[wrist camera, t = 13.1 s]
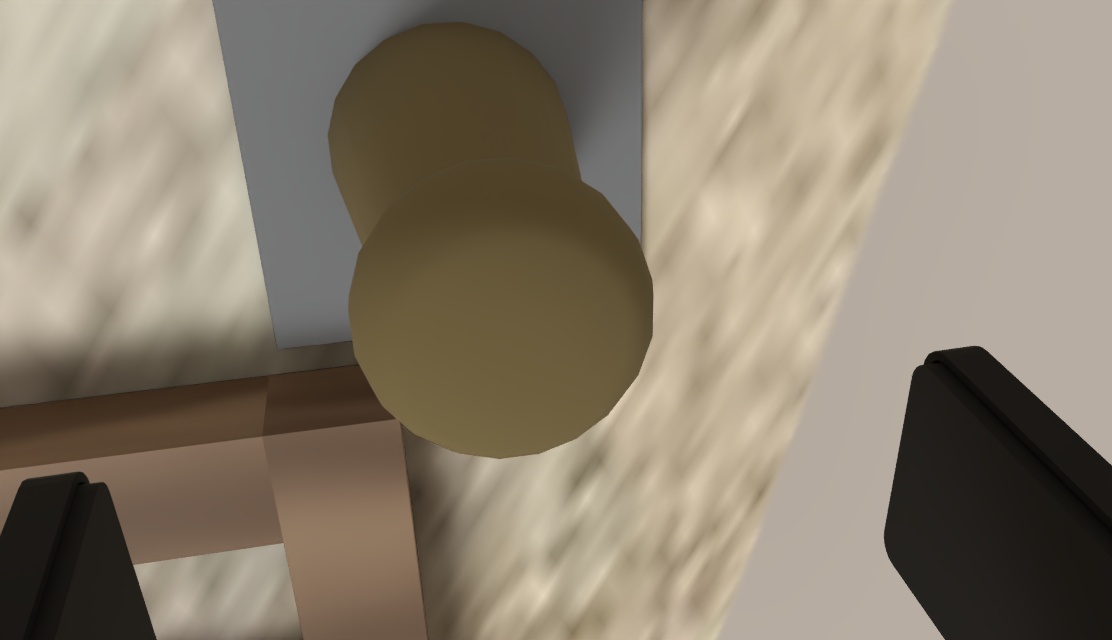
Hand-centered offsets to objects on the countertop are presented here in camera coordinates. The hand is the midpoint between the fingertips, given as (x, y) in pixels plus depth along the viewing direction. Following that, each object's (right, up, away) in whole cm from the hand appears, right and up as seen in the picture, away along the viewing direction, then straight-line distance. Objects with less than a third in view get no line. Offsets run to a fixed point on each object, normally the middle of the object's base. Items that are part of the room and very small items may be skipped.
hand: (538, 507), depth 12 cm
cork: (-2, +7, +14) cm, 16 cm away
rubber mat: (-3, +7, +14) cm, 16 cm away
